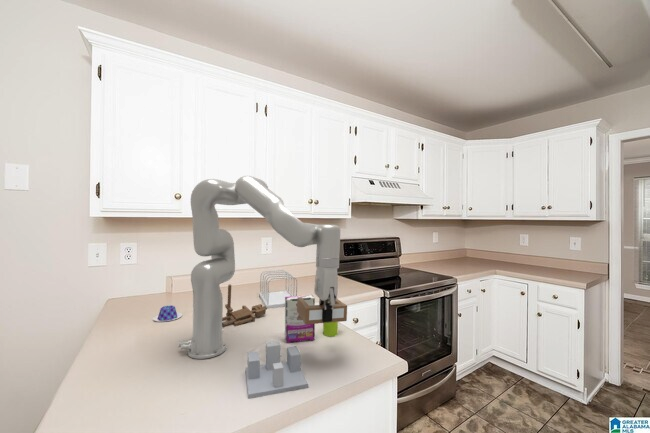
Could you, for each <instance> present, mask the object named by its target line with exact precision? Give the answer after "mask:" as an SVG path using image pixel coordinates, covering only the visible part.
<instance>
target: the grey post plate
mask: <svg viewBox="0 0 650 433" xmlns="http://www.w3.org/2000/svg"><path fill="white" fill-rule="evenodd" d="M281 347H282V346H281V344H280V341H279V340H272V341H265V364H261V362H260V361H261V359H260V356H259V355H260V354H259V351H258V350H256V351H248V352H247V366H246V367H245V380H246V379H247V380H246V389H248V390H247V398H248V399H251V398H250V397H254V398H259V397H263V395H264V396H268V395H269V394H270V395H275V394H279V393H285V392H291V391H297V390H302V389H307V388H309V382H308V380H307V378H306V377H305V374H304V372H303V370H302V367H301V366H302V365H301V364H302V362H301V359H302V358H301V357H302V354H301V352H300V350H299V349H298V347H297V345H292V346H287V347H286V361H281ZM258 396H259V397H258Z"/></svg>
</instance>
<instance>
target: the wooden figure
mask: <svg viewBox="0 0 650 433" xmlns="http://www.w3.org/2000/svg"><path fill="white" fill-rule="evenodd" d="M231 299H232V284H228V286H227V303H226V304H224V308H225V309H226V314H225V315H226V316H224V317H223V316H222V332H224V331H225V330H224V327H226V326H229V325H231V324H233V326H235V327H238V326H241V325H243V324H245V323H246V324H247V323H248V322H252V323H255V321H256V318H258V317H261V316H264V315H266V313H267V312H266V311H267V310H268V308H266V307H265V305H263V304H256V305H253V306H251V310H250V309H249V308H248V307H247V305H242V306H241V308H240V309H237V310H234V309H233V308H232V307H231V306H232V304H231V303H232V302H231V301H232V300H231ZM233 310H234V311H233ZM224 321H226V322H224Z"/></svg>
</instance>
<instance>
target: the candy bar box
mask: <svg viewBox="0 0 650 433" xmlns="http://www.w3.org/2000/svg"><path fill="white" fill-rule="evenodd" d="M297 297H302V298H303V299H304V300H305V302H306V303H307V304H308V305H309V306H312V305H316V304H315V296H313V295H312V294H309V295H307V294H306V295H297V296H296V295H294V296H293V295H292V296H290V297H285V306H284V340H285V343H286V344H290V343H300V342H308V341H310V342H311V341H315V338H316V337H315V335H316V334H315V332H316V331H315V330H316V327H315V326H316V325H315V324H306V325H305V324H304V322H303V320H302V318H301V317H300V315H299V314H298V312H297Z"/></svg>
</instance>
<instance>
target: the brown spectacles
mask: <svg viewBox="0 0 650 433" xmlns="http://www.w3.org/2000/svg"><path fill="white" fill-rule="evenodd" d="M323 309H324V305H319V304H315V305H312V306H309V305H308V304H307V303H306V302H305V300H304V299H303V298H302V297H297V312H298V314H299V315H300V317H301V318H302V320H303V322H304V324H305V325H306V324H318V325H319V324H323V323H330V322H322V310H323ZM347 318H348V305H347V304H346V303H344V302H343V301H341V300H340V299H339V298H337V299H336V300H335V305H334V306H333V311H332V321H331V322H338V323H340V322H347V321H348V320H347Z"/></svg>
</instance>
